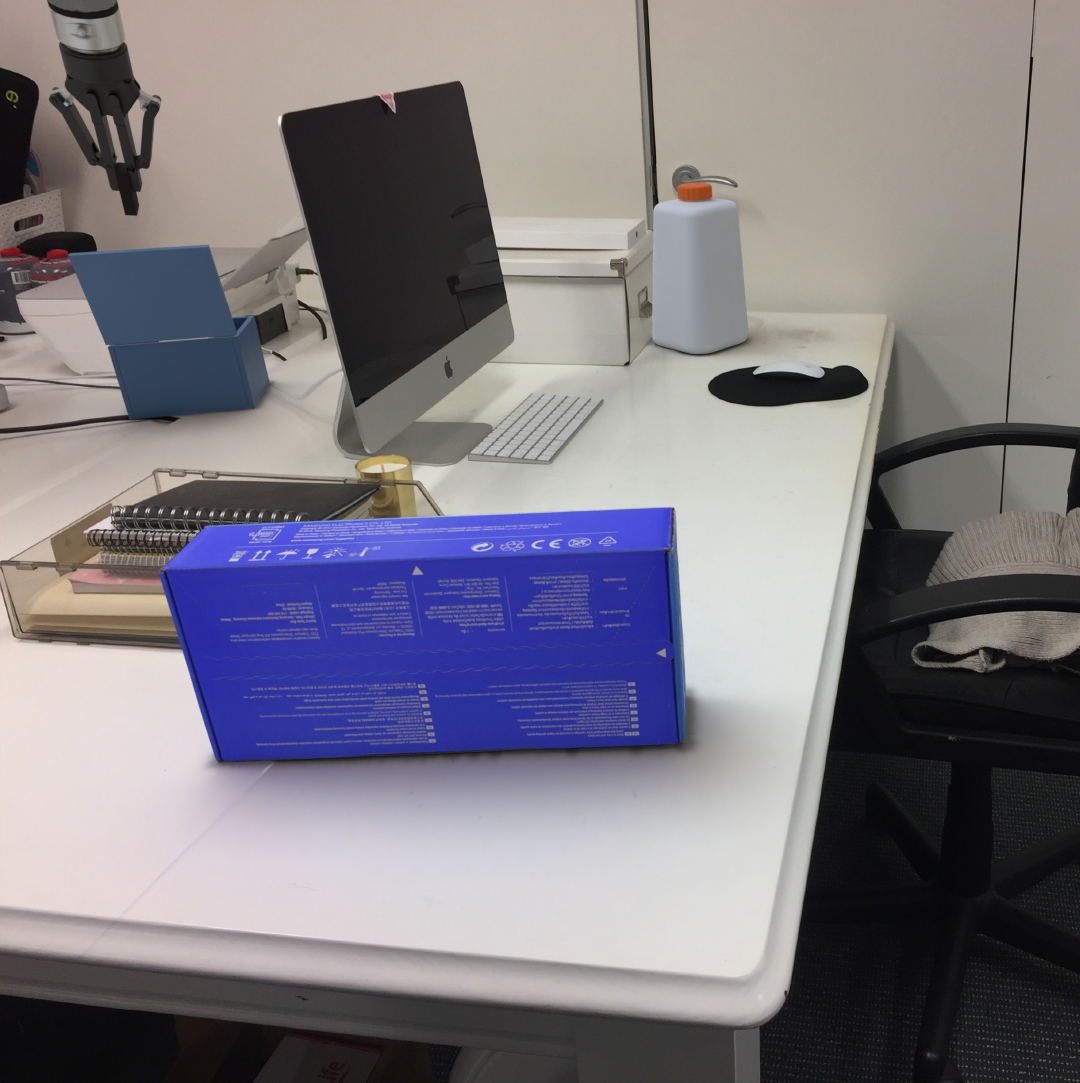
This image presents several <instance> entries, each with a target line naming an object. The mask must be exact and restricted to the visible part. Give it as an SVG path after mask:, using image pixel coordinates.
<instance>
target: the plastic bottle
mask: <svg viewBox="0 0 1080 1083" xmlns="http://www.w3.org/2000/svg"><path fill="white" fill-rule="evenodd" d="M652 213H653V214H652V216H653V217H652V221H653V222H652V296H651V297H652V298H651V299H652V301H651V302H652V304H651V305H652V306H651V307H652V308H651V310H652V312H651V314H652V315H651V317H652V319H651V326H652V327H651V338H652V341H653V342H654V343H655V344H656V345H657V346H660V347H663V348H666V349H671V350H675V351H678V352H682V353H686V354H690V355H691V354H692V355H707V354H712V353H716V352H718V351H719V352H720V351H722V350H725V349H728V348H731V347H734V346H737V345H740V344H743V343H744V342H745V341H746V340H747V339H748V337H749V322H748V309H747V300H746V298H747V297H746V288H745V276H744V265H743V256H742V255H743V253H742V252H743V251H742V244H741V243H742V242H741V241H742V240H741V229H740V218H739V208H738V205H737V204H736V202H735V201H732V200H730V199H725V198H718V197H713V185H712V184H711V183H708V182H685V183H681V184H679V185H678V186H677V198H676V199H670V200H666V201H662V202H659V203H657V204H656V205H655V206H654V208H653V211H652Z"/></svg>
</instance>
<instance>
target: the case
mask: <svg viewBox="0 0 1080 1083" xmlns="http://www.w3.org/2000/svg"><path fill="white" fill-rule="evenodd" d="M232 319H233V322H234V325H235V328H236V331H237V334H236V335H232V336H219V337H214V338H202V339H189V340H176V341H163V342H159V341H154V342H141V343H128V344H116V345H107V350H108V353H109V357H110V360H111V363H112V366H113V370H114V373H115V376H116V379H117V384H118V386H119V390H120V393H121V396H122V400H123V403H124V405H125V409H126V412H127V416H128V420H140V419H151V418H162V417H163V418H165V417H173V416H185V415H197V414H208V413H219V412H231V411H242V410H243V411H244V410H253V409H256V407H257V405H258V403H259V402H260V401H261V398H262V397H263V395H264V394H265V392H266V390H267V388H268V386H270V383H271V382H270V378H269V374H268V369H267V365H266V360H265V356H264V352H263V347H262V343H261V339H260V334H259V330H258V326H257V320H256V317H255V315H244V316H242V315H241V316H232Z"/></svg>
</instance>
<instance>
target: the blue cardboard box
mask: <svg viewBox="0 0 1080 1083" xmlns="http://www.w3.org/2000/svg"><path fill="white" fill-rule="evenodd" d="M677 525H678V524H677V511H676V508H675V507H674V506H647V507H646V506H645V507H623V508H622V507H621V508H619V507H618V508H597V509H596V508H595V509H575V510H549V511H546V510H545V511H525V512H523V511H522V512H521V511H520V512H500V513H499V512H497V513H475V514H472V513H471V514H453V515H429V516H412V517H411V516H408V517H407V516H406V517H384V518H363V519H362V518H360V519H335V520H314V521H313V520H311V521H289V522H287V521H286V522H264V523H263V522H262V523H240V524H239V523H238V524H237V523H236V524H218V525H217V524H216V525H204V526H203V529H202V530H200V532H199V533H197V534H196V536H194V537H193V538H192V539H191V540H190V541H189V542H188V543H187V544H186V545H184V547H182V549H181V550H179V552H177V554H175V555H174V556H173V557H172V558H171V559H170V560H169V561H168V562H166V563H165V564H164V565H163V566H162V567H161V568H160V569H158V576H159V580H160V582H161V583H160V584H161V586H162V589H163V593H164V596H165V599H166V603H167V606H168V609H169V612H170V615H171V619H172V622H173V624H174V628H175V631H176V635H177V638H178V642H179V645H180V647H181V650H182V655H183V657H184V660H185V664H186V667H187V671H188V674H189V677H190V681H191V684H192V688H193V691H194V695H195V697H196V701H197V705H198V708H199V712H200V714H201V718H202V721H203V725H204V728H205V732H206V734H207V737H208V740H209V743H210V746H211V749H212V752H213V755H214V759H215V761H216V762H219V763H228V762H246V761H280V760H282V761H283V760H284V761H285V760H306V759H308V760H310V759H335V758H356V757H357V758H359V757H360V758H361V757H383V756H384V757H386V756H388V757H389V756H410V755H413V756H414V755H432V754H434V755H435V754H436V755H437V754H453V753H455V754H457V753H476V752H499V751H514V750H515V751H516V750H534V749H535V750H536V749H539V750H543V749H572V748H574V749H575V748H599V747H601V748H602V747H627V746H651V745H653V746H655V745H678V744H679V745H680V744H685V743H686V736H687V735H686V733H687V731H686V728H687V687H686V686H687V683H686V682H687V681H686V664H685V647H684V646H685V645H684V630H683V616H682V614H683V613H682V599H681V597H682V596H681V584H680V563H679V553H678V526H677Z"/></svg>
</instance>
